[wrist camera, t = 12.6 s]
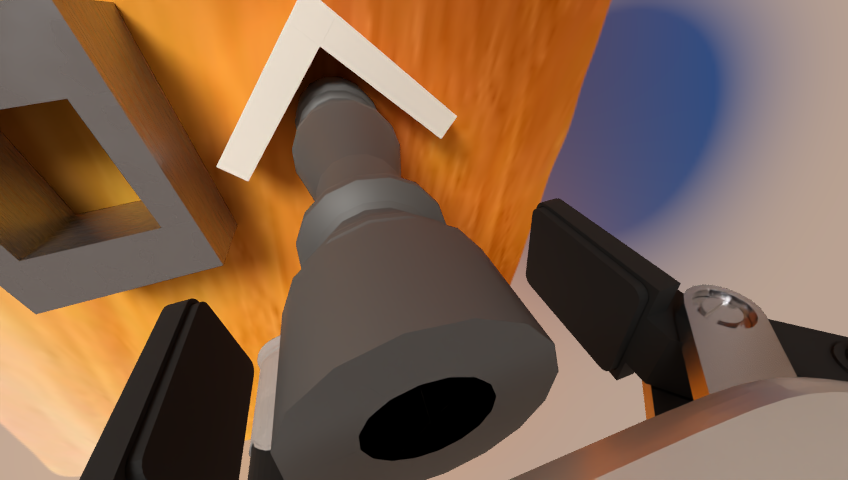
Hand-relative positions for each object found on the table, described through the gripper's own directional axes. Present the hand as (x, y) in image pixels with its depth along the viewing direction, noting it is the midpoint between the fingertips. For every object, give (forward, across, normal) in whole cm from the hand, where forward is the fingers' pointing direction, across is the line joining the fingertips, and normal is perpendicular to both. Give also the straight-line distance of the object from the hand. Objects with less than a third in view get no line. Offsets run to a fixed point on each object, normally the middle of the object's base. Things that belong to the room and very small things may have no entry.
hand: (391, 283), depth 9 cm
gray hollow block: (+21, +17, 0) cm, 27 cm away
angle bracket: (+21, 0, -3) cm, 21 cm away
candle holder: (+21, 0, 0) cm, 21 cm away
